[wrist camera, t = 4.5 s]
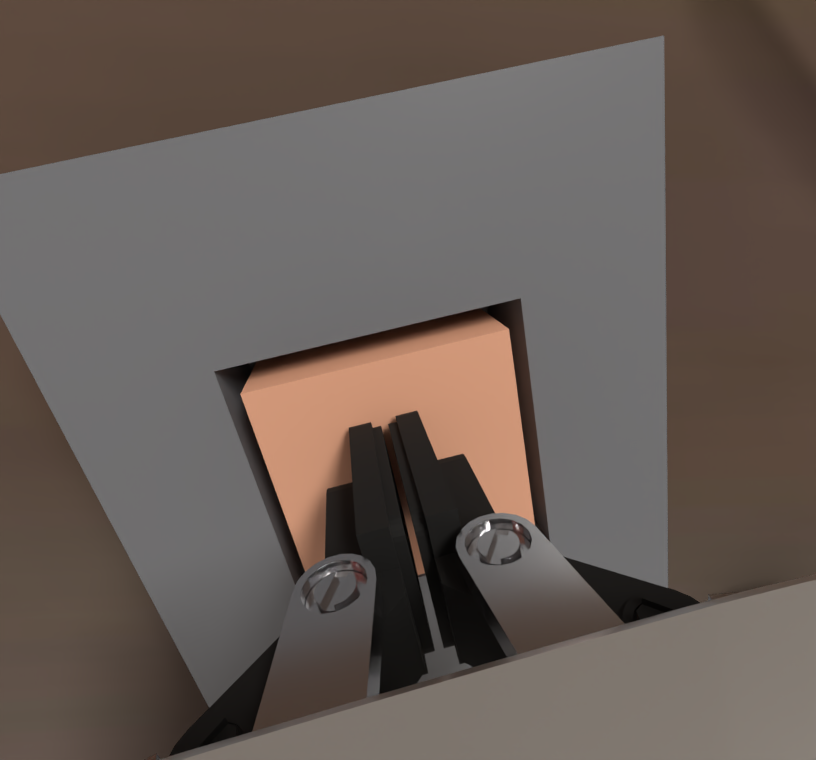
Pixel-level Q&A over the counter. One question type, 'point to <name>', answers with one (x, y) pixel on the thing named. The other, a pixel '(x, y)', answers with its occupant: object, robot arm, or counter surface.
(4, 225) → the key panel
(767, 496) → the counter surface
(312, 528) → the terracotta key
